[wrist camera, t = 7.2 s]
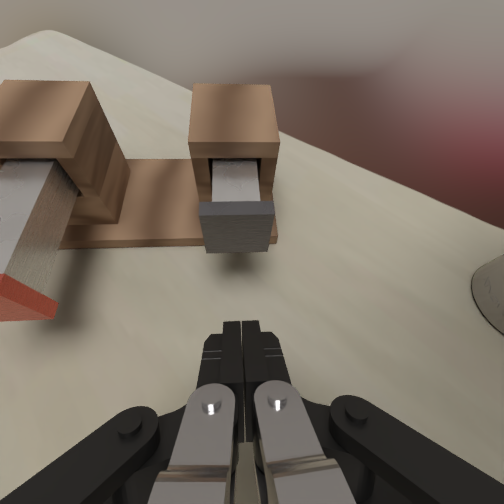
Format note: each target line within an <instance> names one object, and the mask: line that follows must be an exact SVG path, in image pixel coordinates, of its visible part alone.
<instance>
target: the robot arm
mask: <svg viewBox="0 0 504 504" xmlns="http://www.w3.org/2000/svg"><path fill="white" fill-rule="evenodd" d="M472 290H473V295H474V298H475V300H476V303H477V305H478V306H479V308H480V310H481V311H482V313H483V314H484V316H485V317H486V318H487V319H488V320H489V322H490V323H491V324H492V325H494V326H495V327H496V328H497V329H498V330H499V331H500V332H502V333H503V334H504V254H503V255H502V256H500V257H498V258H496V259H494V260H493V261H491V262H489V263H487V264H485V265H484V266H482V267H480V268H479V269H478V270H477V271H476V272H475V274H474V277H473V279H472ZM244 407H245V426H246V442H253V449H254V473H255V480H256V487H257V494H258V501H259V504H504V485H503V484H502V483H500V482H499V481H497V480H495V479H494V478H492V477H490V476H489V475H487V474H485V473H484V472H482V471H481V470H479V469H477V468H476V467H474V466H472V465H471V464H469V463H468V462H466V461H464V460H463V459H461V458H459V457H458V456H456V455H454V454H453V453H451V452H450V451H448V450H446V449H445V448H443V447H441V446H440V445H438V444H437V443H435V442H433V441H432V440H430V439H428V438H427V437H425V436H424V435H422V434H420V433H419V432H417V431H415V430H414V429H412V428H410V427H409V426H407V425H406V424H404V423H402V422H401V421H399V420H397V419H396V418H394V417H393V416H391V415H389V414H388V413H386V412H384V411H383V410H381V409H379V408H378V407H376V406H375V405H373V404H371V403H370V402H368V401H366V400H364V399H362V398H360V397H357V396H352V395H343V396H339V397H337V398H336V399H334V400H333V402H332V403H331V406H326V405H321V404H317V403H313V402H310V401H308V400H306V399H304V398H302V397H301V396H300V394H299V392H298V391H297V390H296V388H294V387H293V386H292V384H291V381H290V377H289V374H288V370H287V367H286V364H285V360H284V357H283V353H282V350H281V346H280V343H279V339H278V338H277V337H276V336H275V335H274V334H273V333H272V332H261V331H260V325H259V321H258V320H253V321H242V343H241V324H240V321H228V322H223V334H211V335H210V336H209V337H208V338H207V340H206V341H205V342H204V348H203V354H202V360H201V365H200V371H199V376H198V382H197V388H196V390H195V391H194V392H193V393H192V394H191V396H190V397H189V399H188V402H187V404H186V405H185V406H183V407H182V408H180V409H178V410H176V411H174V412H171V413H168V414H165V415H162V416H159V417H158V416H157V414H156V412H155V411H154V410H153V409H151V408H149V407H145V406H137V407H132V408H129V409H126V410H124V411H122V412H120V413H119V414H117V415H116V416H114V417H113V418H112V419H110V420H109V421H107V422H106V423H105V424H103V425H102V426H101V427H99V428H98V429H97V430H95V431H94V432H93V433H91V434H90V435H88V436H87V437H86V438H84V439H83V440H82V441H80V442H79V443H78V444H76V445H75V446H74V447H72V448H71V449H69V450H68V451H67V452H65V453H64V454H63V455H61V456H60V457H59V458H57V459H56V460H55V461H53V462H52V463H51V464H49V465H48V466H46V467H45V468H44V469H42V470H41V471H40V472H38V473H37V474H36V475H34V476H33V477H32V478H30V479H29V480H27V481H26V482H25V483H23V484H22V485H21V486H19V487H18V488H17V489H15V490H14V491H13V492H11V493H10V494H8V495H7V496H6V497H4V498H3V499H2V500H0V504H235V492H236V475H237V464H238V458H239V451H238V443H244Z"/></svg>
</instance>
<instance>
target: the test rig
mask: <svg viewBox="0 0 504 504" xmlns="http://www.w3.org/2000/svg"><path fill="white" fill-rule="evenodd" d="M188 145H189V150H190V155H191V159H125V157H124V155H123V153H122V151H121V148H120V146H119V144H118V142H117V140H116V138H115V135H114V133H113V131H112V129H111V127H110V125H109V123H108V120H107V118H106V116H105V114H104V112H103V110H102V107H101V105H100V103H99V101H98V99H97V97H96V94H95V92H94V90H93V88H92V86H91V84H90V81H38V80H4V81H3V83H2V84H1V85H0V170H1V168H2V166H3V165H4V163H5V161H6V159H7V158H56V159H57V160H58V162H59V163H60V164H61V166H62V167H63V168H64V170H65V171H66V172H67V174H68V175H69V176H70V178H71V179H72V180H73V182H74V183H75V184H76V186H77V187H78V188H79V193H78V195H77V198H76V201H75V204H74V207H73V209H72V212H71V215H70V218H69V221H68V223H67V226H66V229H65V232H64V235H63V238H62V240H61V243H60V246H59V249H79V248H118V247H157V246H196V245H205V244H204V239H203V234H202V229H201V224H200V220H199V202H212V178H213V158H256V161H257V171H258V181H259V192H260V201H273V195H272V188H273V182H274V176H275V170H276V164H277V158H278V152H279V146H280V139H279V133H278V127H277V121H276V115H275V111H274V104H273V98H272V92H271V86H270V85H247V84H193V93H192V104H191V115H190V125H189V136H188ZM277 237H278V234H277V226H276V218H275V216H274V221H273V226H272V231H271V236H270V241H269V244H273V243H276V242H277Z"/></svg>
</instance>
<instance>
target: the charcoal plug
mask: <svg viewBox="0 0 504 504" xmlns="http://www.w3.org/2000/svg"><path fill="white" fill-rule="evenodd" d="M274 216H275V211H274V203H273V201H260V192H259V181H258V171H257V161H256V158H213V178H212V202H199V220H200V224H201V229H202V234H203V239H204V244H205V248H206V253H237V252H267V251H268V246H269V241H270V236H271V231H272V226H273V221H274Z"/></svg>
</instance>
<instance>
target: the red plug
mask: <svg viewBox="0 0 504 504" xmlns="http://www.w3.org/2000/svg"><path fill="white" fill-rule="evenodd" d="M78 193H79V188H78V187H77V186H76V184H75V183H74V182H73V180H72V179H71V178H70V176H69V175H68V174H67V172H66V171H65V170H64V168H63V167H62V166H61V164H60V163H59V162H58V160H57V159H56V158H7V159H6V161H5V163H4V165H3V166H2V168H1V170H0V322H1V321H23V320H46V319H54V316H55V313H56V310H57V307H58V304H59V303H58V302H56V301H54V300H52V299H50V298H48V297H47V296H45V295H43V291H44V288H45V285H46V283H47V280H48V277H49V274H50V271H51V268H52V266H53V263H54V260H55V257H56V254H57V252H58V249H59V246H60V243H61V240H62V238H63V235H64V232H65V229H66V226H67V223H68V221H69V218H70V215H71V212H72V209H73V207H74V204H75V201H76V198H77V195H78Z"/></svg>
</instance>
